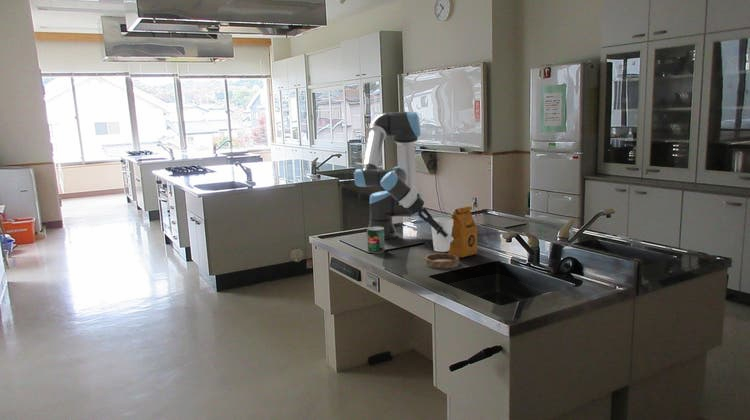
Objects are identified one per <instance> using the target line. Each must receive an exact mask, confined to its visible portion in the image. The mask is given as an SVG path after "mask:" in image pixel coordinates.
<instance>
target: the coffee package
mask: <svg viewBox="0 0 750 420" xmlns="http://www.w3.org/2000/svg"><path fill="white" fill-rule="evenodd" d="M472 210H473V207H472V205H469V206H464V207H459V208H455V209H454V211H453V213H452V216H451V219H453V227H452V234H451V236H452V237H453V238H454V240H453V241H452V242H451V243H450V248H449V251H448V254H453V255H456V256H458V257H459V258H466V257H470V256H473V255H476V254H477V252H478V229H477V224H476V222H475V219H474V218H473V214H472V212H471V211H472Z"/></svg>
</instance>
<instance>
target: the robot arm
mask: <svg viewBox="0 0 750 420" xmlns="http://www.w3.org/2000/svg"><path fill="white" fill-rule="evenodd" d="M421 134H422V133H421V123H420V118H419V115H418V113H417V112H415V111H395V112H391V111H387V112H382V113H380V114H378V115H377V116H375V117H374V118H373V119H372V120H371V121H370V122H369V124H368V125H367V128H366V132H365V135H366V144H365V148H364V153H363V158H362V164H361V167H360V168H358V169H355V170H354V174H353V175H354V176H353V178H354V184H355V186H357V187H359V188H362V187H363V188H370V187H371V188H374V187H378V188H381V187H382V188H383V189H384V190H381V191H377V192H373V193H371V194H370V195H369V202H368V203H369V224H368V227H373V226H380V227H384V240H388V239H389V240H390V239H394V238H396V237H397V232H396V231H397V230H396V228H395V225H394V223H393V218H394V217H395V218H397V217H399V218H403V217H404V218H411V217H412V218H413V217H420V218H421V219H422V220H423V221H424V222H425V223H428V224H429V225H430V227H431V226H432V227H433V228H434V229H435V230H436V231H437V234H440V235H441V236H442V237H443V238H444V239H445V240H446V241H447V242H448V243H449V244H450V243H451V242H452V241H453V240H454V238H453V237H452V236H451V235H450V234H449V233H448V232H447V231H445V230H444V229H443V228H442V227H441V226H440V225H439V224H438V223H437V222H436V221H435V220H434V219H433V218H434V217H433V216H432V214H430V213H429V211H428V210H427V209H426V208H425V207H423V206H424V204H425V201H424V199H422V197H423V195H422V194H421V193H420V192H419V189H418V188H417V187H416V181H417V180H416V151H415V150H416V149H415V148H416V147H415V144H416V143H417V141H418V140H419V139H418V138H419V137H421ZM388 137H389V138H393V142H394V143H395V144H396V149H397V150H396V153H397V154H396V155H397V157H396V158H397V166H394V167H393V168H391V169H389V168H387V169H386V168H385V169H384V168H382V169H381V168H380V161H381V157H382V150H383V145H384V141H385V140H386V138H388ZM379 168H380V169H379ZM438 228H439V229H438ZM366 237H367V238H368V233H367V232H366Z"/></svg>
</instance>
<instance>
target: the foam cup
mask: <svg viewBox="0 0 750 420" xmlns="http://www.w3.org/2000/svg"><path fill="white" fill-rule="evenodd" d="M432 218H433V219H434V220H435V221H436V222H437V223H438V224H439V225H440V226H441V227H442V228H443V229H444V230H445V231H447V232H448V233H449V234H450V235H451V234H452V227H453V219H451V218H450V217H432ZM430 228H431V236H432V245H433V250H434V251H435V252H439V253H445V252H449V248H450V244H449V243H448V242H447V241H446V240H445V239H444V238H443V237H442V236H441V235H440V234H437V231H436V230H435V229H434V228H433V227H432V226H431V225H430ZM438 229H439V228H438Z"/></svg>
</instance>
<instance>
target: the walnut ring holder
mask: <svg viewBox="0 0 750 420" xmlns="http://www.w3.org/2000/svg"><path fill="white" fill-rule="evenodd" d="M424 263H425V266H426V267H429V268H432V269H440V270H443V269H446V270H447V269H453V268H456V267H458V266H459V263H460V257H458V256H456V255H453V254H449V253H445V252H439V253H438V252H435V253H430V254H426V256H424Z"/></svg>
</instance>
